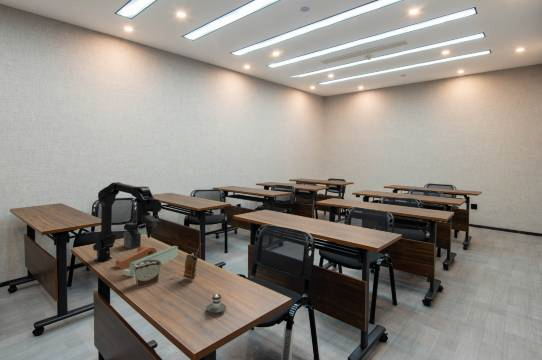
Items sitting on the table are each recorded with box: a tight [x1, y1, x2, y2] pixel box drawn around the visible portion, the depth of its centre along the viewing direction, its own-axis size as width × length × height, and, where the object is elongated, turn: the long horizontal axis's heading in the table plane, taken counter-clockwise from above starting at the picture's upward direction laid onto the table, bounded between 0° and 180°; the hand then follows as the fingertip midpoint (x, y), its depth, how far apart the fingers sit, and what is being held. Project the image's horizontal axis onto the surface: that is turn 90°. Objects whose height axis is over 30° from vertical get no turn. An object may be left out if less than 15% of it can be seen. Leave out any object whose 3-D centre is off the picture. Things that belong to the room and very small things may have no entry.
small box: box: [123, 231, 142, 250], centre depth 185 cm, size 11×6×10 cm, turn 52°
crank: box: [115, 244, 158, 270], centre depth 160 cm, size 20×8×8 cm, turn 143°
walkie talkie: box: [166, 244, 202, 281], centre depth 139 cm, size 13×13×18 cm
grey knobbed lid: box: [205, 293, 227, 314], centre depth 113 cm, size 12×12×5 cm
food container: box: [133, 260, 162, 289], centre depth 133 cm, size 12×6×10 cm, turn 134°
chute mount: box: [123, 245, 179, 278], centre depth 156 cm, size 7×32×7 cm, turn 159°
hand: (142, 240), depth 152 cm, fingers open, 9 cm apart
